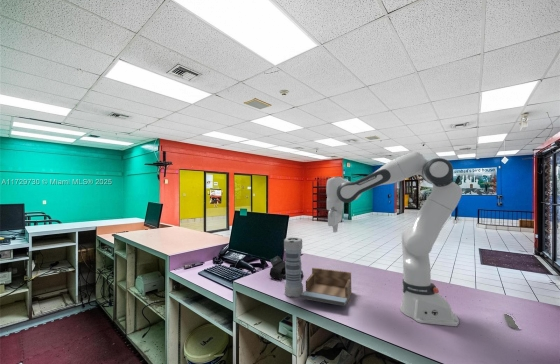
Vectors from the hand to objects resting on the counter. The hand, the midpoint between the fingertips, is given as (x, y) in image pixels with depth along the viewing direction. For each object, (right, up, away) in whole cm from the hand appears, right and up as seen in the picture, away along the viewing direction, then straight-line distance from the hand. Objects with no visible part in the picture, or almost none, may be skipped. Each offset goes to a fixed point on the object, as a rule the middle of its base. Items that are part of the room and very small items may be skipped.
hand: (335, 232), depth 132 cm
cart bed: (-3, -34, 0) cm, 34 cm away
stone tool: (+69, -33, -28) cm, 82 cm away
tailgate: (-7, -31, -6) cm, 32 cm away
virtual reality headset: (-25, -35, +28) cm, 51 cm away
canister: (-22, -35, +2) cm, 41 cm away
